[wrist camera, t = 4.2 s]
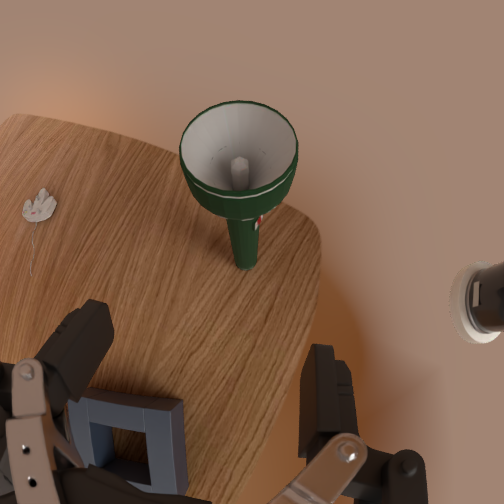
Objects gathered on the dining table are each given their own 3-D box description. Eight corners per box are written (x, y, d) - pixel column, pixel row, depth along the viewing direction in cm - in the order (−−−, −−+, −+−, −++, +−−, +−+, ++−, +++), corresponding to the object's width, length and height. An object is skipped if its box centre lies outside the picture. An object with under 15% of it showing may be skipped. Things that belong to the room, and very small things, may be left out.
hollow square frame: (183, 399, 27) (170, 411, 22) (188, 486, 24) (179, 508, 19) (90, 387, 27) (66, 393, 22) (100, 469, 24) (80, 484, 19)
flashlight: (256, 294, 30) (266, 218, 10) (212, 271, 30) (152, 165, 11) (279, 251, 31) (318, 124, 12) (236, 229, 32) (217, 86, 12)
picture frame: (61, 552, 17) (101, 506, 22) (53, 559, 14) (91, 515, 19) (-7, 487, 20) (16, 424, 24) (-16, 491, 17) (4, 427, 22)
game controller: (58, 185, 33) (48, 177, 31) (64, 263, 31) (52, 258, 28) (29, 201, 33) (19, 194, 30) (33, 276, 30) (20, 272, 28)
